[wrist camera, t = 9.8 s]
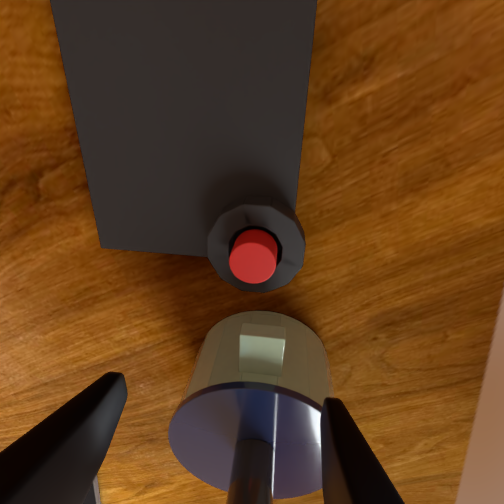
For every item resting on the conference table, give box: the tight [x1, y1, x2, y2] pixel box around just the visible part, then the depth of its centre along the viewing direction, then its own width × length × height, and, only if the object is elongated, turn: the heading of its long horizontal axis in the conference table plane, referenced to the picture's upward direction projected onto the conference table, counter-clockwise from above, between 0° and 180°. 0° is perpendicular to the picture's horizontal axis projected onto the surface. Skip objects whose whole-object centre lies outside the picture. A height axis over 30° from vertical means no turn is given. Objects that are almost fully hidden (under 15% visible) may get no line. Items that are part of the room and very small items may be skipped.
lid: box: [168, 381, 323, 504], centre depth 17 cm, size 11×11×6 cm
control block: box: [50, 0, 317, 293], centre depth 15 cm, size 13×19×3 cm, turn 178°
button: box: [229, 229, 277, 283], centre depth 16 cm, size 2×2×2 cm
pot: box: [180, 311, 334, 407], centre depth 22 cm, size 10×15×6 cm, turn 178°
